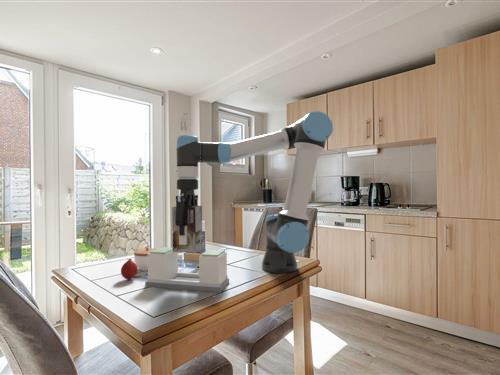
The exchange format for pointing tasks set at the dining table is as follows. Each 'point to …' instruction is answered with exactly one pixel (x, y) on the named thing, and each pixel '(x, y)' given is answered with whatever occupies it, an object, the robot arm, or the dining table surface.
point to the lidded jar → (142, 258)
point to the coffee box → (189, 230)
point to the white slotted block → (167, 274)
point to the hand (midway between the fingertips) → (187, 242)
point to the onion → (129, 269)
